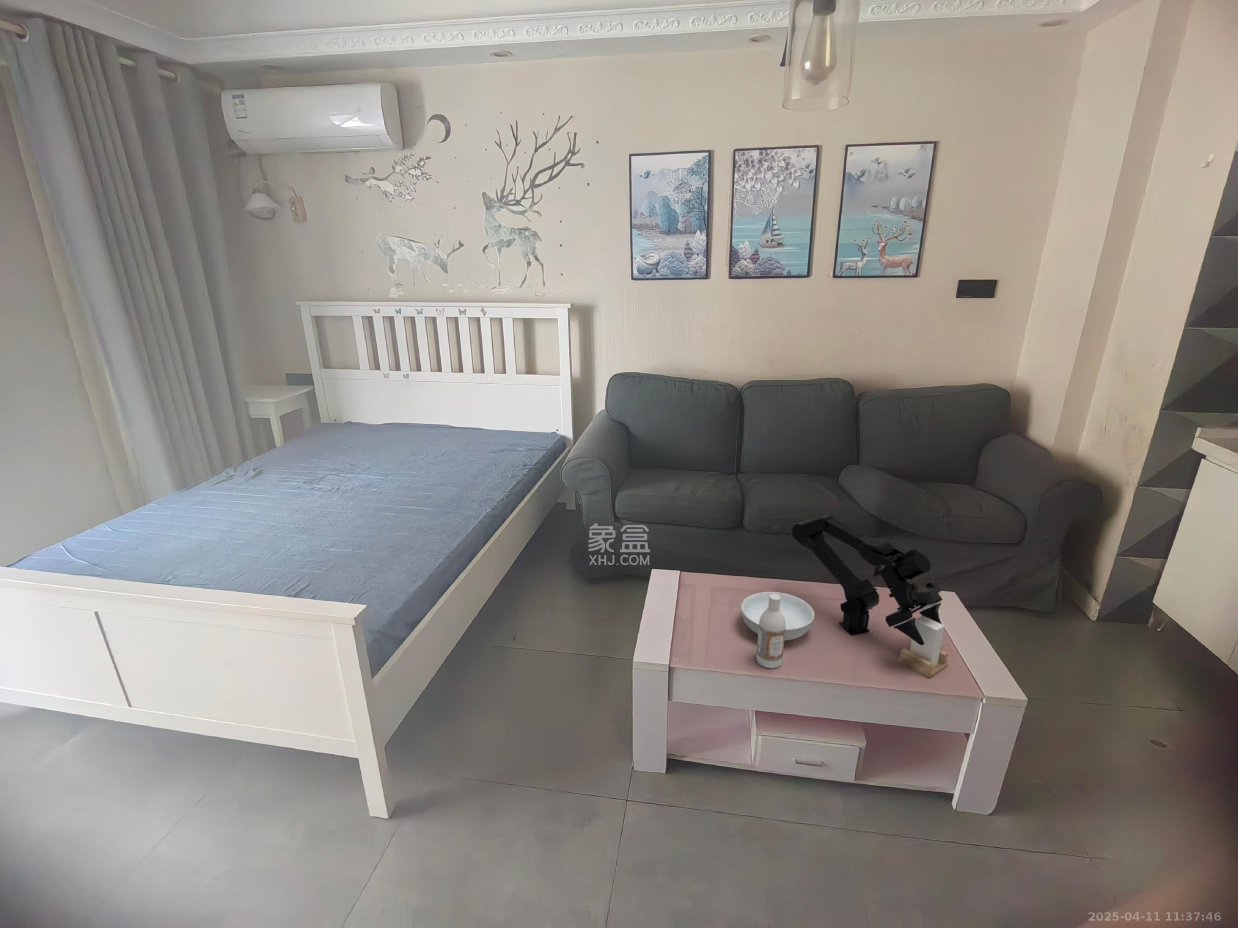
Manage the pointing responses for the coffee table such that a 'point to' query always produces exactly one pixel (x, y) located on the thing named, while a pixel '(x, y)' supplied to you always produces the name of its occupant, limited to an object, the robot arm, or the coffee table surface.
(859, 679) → the coffee table surface
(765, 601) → the serving bowl
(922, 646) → the white rectangular box
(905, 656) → the slot holder
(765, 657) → the bath foam
